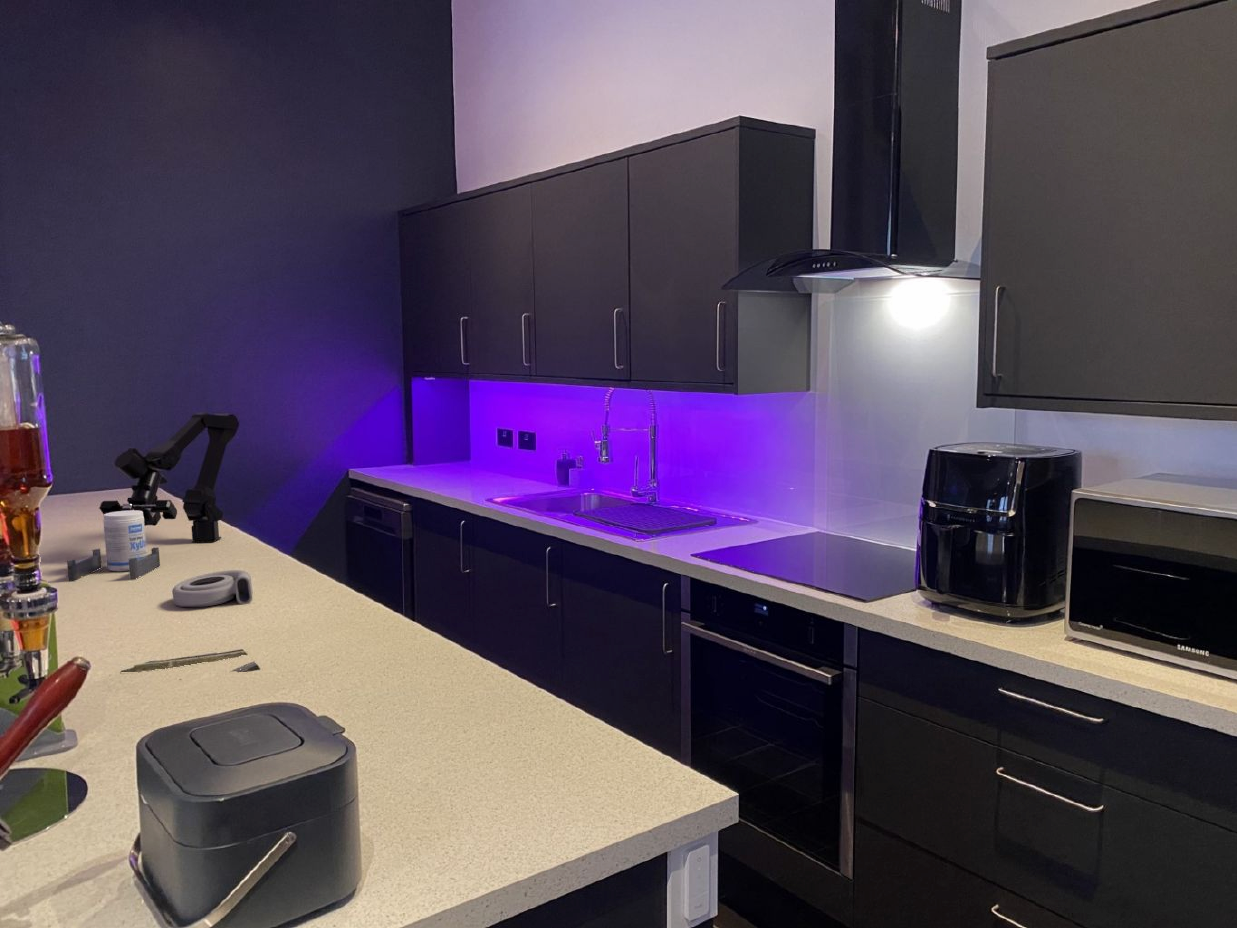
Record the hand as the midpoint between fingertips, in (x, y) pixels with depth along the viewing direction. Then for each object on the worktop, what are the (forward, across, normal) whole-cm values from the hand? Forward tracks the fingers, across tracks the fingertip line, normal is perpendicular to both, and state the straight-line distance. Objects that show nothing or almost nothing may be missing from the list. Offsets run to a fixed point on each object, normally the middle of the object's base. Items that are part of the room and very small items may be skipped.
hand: (129, 535), depth 262 cm
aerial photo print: (+70, -53, +58) cm, 105 cm away
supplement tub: (+9, -1, -2) cm, 9 cm away
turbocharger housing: (+34, -38, +22) cm, 55 cm away
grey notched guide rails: (+13, -1, +2) cm, 13 cm away
